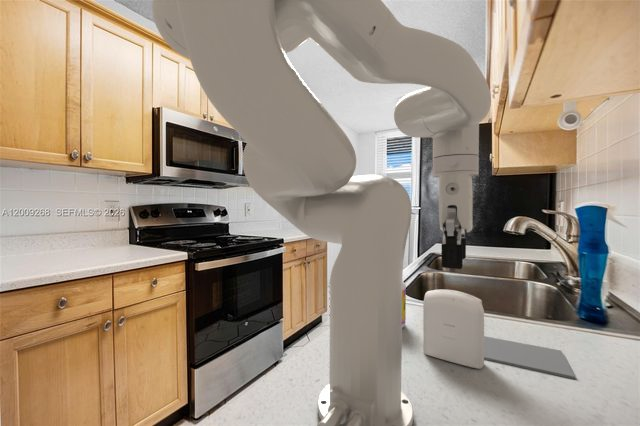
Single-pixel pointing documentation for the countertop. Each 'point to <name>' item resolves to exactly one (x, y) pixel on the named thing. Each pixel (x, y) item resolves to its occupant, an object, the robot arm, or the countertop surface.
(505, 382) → the countertop surface
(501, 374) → the countertop surface
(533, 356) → the mat
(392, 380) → the robot arm
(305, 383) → the countertop surface
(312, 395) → the countertop surface
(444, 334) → the photo printer
